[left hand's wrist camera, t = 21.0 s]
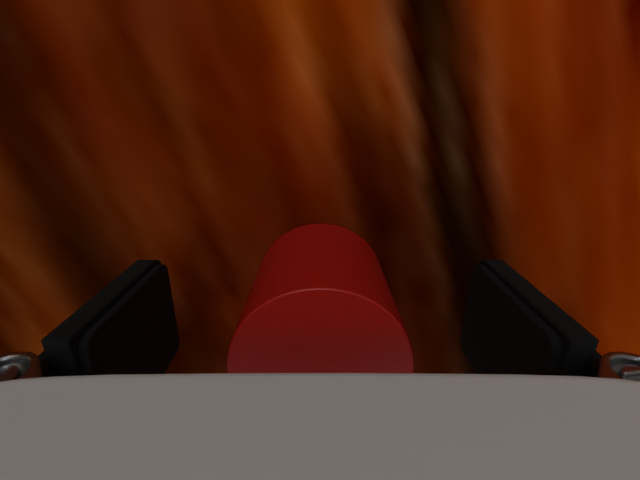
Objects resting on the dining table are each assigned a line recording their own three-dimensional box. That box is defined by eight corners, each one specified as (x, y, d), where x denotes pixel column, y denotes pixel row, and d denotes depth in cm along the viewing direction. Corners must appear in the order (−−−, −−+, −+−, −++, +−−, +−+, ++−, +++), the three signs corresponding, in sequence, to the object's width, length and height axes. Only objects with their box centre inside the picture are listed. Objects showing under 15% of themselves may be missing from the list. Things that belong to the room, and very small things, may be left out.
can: (283, 203, 12) (261, 259, 7) (402, 249, 12) (449, 327, 8) (242, 310, 13) (204, 412, 9) (351, 347, 14) (366, 461, 9)
